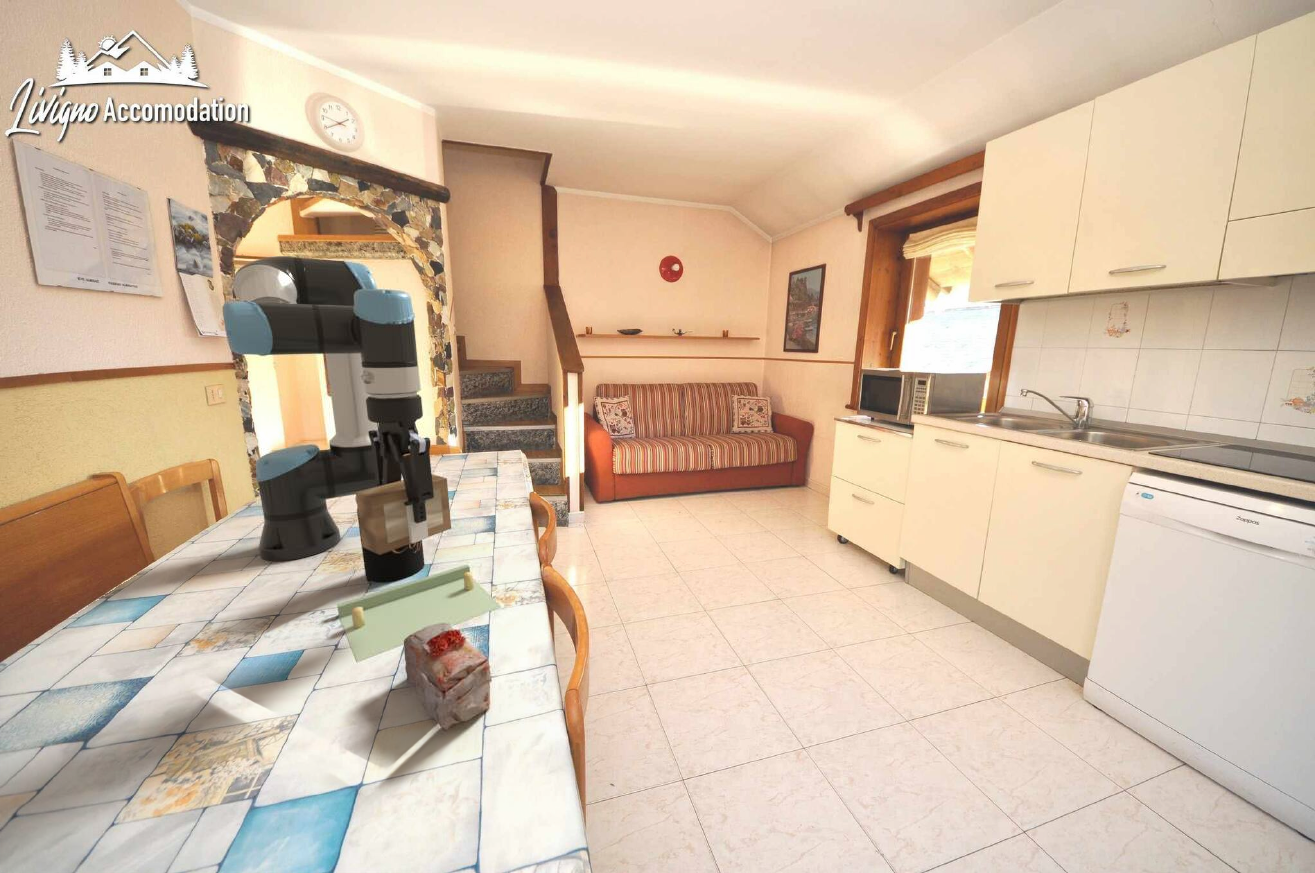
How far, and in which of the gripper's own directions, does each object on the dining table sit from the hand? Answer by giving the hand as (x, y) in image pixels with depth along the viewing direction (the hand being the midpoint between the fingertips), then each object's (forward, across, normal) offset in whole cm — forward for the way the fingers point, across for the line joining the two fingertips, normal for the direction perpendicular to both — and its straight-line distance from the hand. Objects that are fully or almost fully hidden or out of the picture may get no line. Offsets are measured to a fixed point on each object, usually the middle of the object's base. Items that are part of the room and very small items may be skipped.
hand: (409, 535), depth 77 cm
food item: (+16, +20, -8) cm, 27 cm away
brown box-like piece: (0, 0, 0) cm, 0 cm away
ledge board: (+16, -1, +1) cm, 16 cm away
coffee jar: (+17, -20, +7) cm, 27 cm away
